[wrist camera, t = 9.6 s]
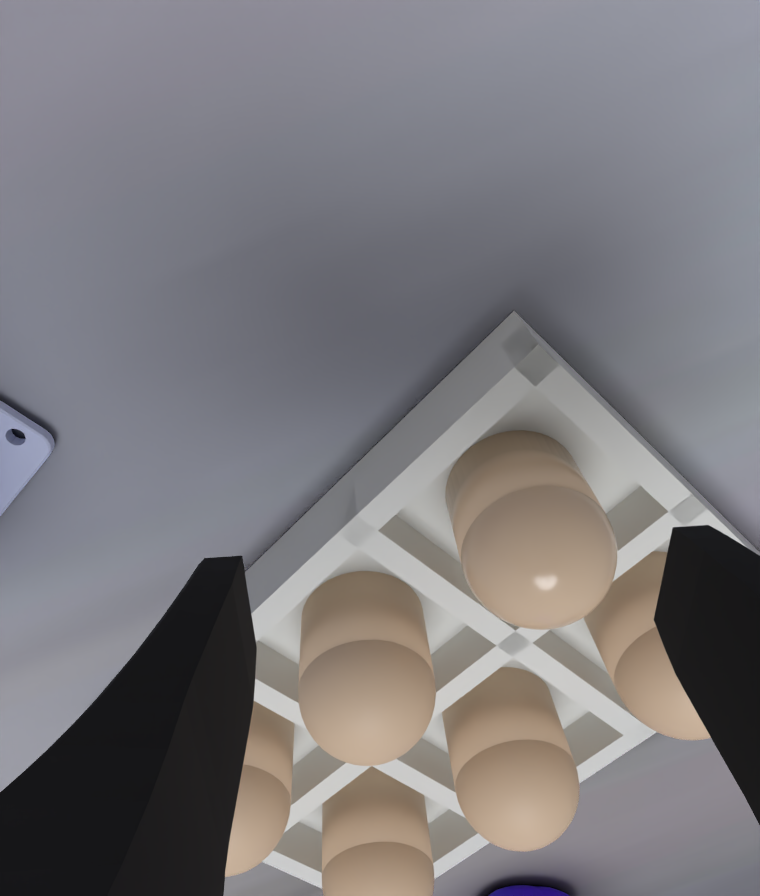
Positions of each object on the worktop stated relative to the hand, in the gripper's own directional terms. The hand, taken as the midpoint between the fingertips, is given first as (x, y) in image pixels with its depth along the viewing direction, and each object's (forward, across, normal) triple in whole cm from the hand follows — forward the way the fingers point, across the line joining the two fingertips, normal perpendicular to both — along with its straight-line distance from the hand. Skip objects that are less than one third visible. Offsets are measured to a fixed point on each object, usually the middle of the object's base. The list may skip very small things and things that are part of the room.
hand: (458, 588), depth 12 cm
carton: (+9, -1, +11) cm, 14 cm away
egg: (+8, -3, +4) cm, 10 cm away
